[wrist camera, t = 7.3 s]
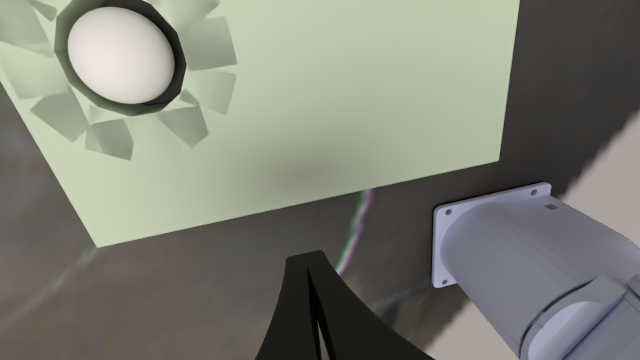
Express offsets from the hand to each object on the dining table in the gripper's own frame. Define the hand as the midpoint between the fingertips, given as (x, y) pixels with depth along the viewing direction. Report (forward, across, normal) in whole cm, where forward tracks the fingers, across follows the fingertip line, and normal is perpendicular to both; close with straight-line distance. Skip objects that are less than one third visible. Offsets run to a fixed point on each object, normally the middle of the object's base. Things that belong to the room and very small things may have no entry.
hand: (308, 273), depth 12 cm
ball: (+7, +6, -8) cm, 12 cm away
